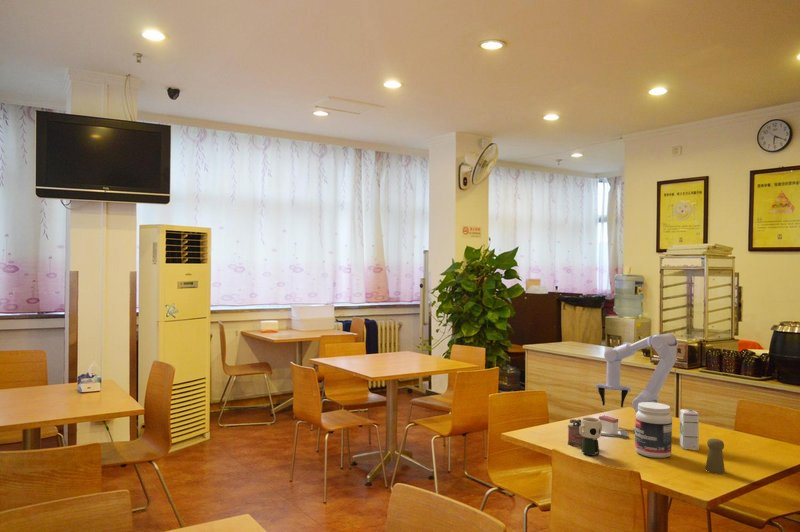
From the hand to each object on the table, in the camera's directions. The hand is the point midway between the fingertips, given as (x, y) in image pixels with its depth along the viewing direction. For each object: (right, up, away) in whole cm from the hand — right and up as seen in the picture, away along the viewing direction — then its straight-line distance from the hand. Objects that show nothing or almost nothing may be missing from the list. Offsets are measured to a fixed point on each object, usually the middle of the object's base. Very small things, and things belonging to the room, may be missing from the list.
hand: (612, 406), depth 267 cm
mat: (-7, -8, -14) cm, 17 cm away
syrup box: (+18, -9, -33) cm, 38 cm away
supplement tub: (0, -9, -41) cm, 42 cm away
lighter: (-25, -8, -32) cm, 41 cm away
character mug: (-24, -8, -43) cm, 50 cm away
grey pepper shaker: (+14, -9, -60) cm, 62 cm away
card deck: (-7, -8, -14) cm, 17 cm away
